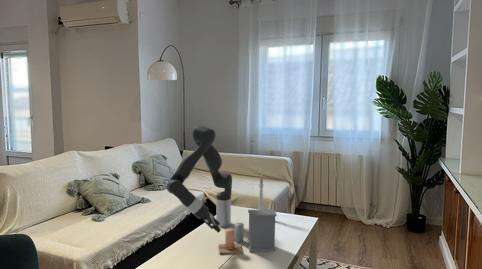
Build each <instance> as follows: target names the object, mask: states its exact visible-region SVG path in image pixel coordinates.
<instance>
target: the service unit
mask: <svg viewBox="0 0 482 269" xmlns="http://www.w3.org/2000/svg"><path fill="white" fill-rule="evenodd" d="M247 212H248V242H247V249H248V251H249V253H263V252H266V253H267V252H276V250H277V249H276V246H275V241H276V240H275V239H276V238H275V237H276V236H275V235H276V230H275V229H276V217H277V213H276V211H275V210H274V208H270V209H268V208H267V209H264V208H263V210H258V209H248V210H247Z"/></svg>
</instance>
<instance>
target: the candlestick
mask: <svg viewBox="0 0 482 269" xmlns="http://www.w3.org/2000/svg"><path fill="white" fill-rule="evenodd" d="M264 185H265V184H264V175H263V174H260V175H259V184H258V187H259V194H258V195H259V196H258V197H259V198H258V208H257V210H263V209H264V194H263V193H264V192H263V189H264Z"/></svg>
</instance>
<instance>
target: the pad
mask: <svg viewBox="0 0 482 269" xmlns="http://www.w3.org/2000/svg"><path fill="white" fill-rule="evenodd" d="M218 252H219V255H220V256H221V255H223V256H224V255H239V254H240V255H241V254H243V248H242V245H241V243H235V248H234V249H233V250H227V249H226V248H225V243H219V244H218Z"/></svg>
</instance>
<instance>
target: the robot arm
mask: <svg viewBox="0 0 482 269" xmlns="http://www.w3.org/2000/svg"><path fill="white" fill-rule="evenodd" d="M192 138H193V141H194V143H195V144H196V145H197V148H196V149H195V150H193V151H192V152H191V153H189V154H188V155H187V156H185V157H184V158H183V159H182V161H181V162H180V164H179V165H178V167H177V169H176V170H175V172H174V174H173V175H172V176H171V177H170V179H169V180H168V182H167V184H166V190H167V192H168V193H170V194H173V195H174V196H175V197H176V198H177V199H178V200H179V202H180V203H181V204H182V205H183V206H184V207H186V209H187V210H188V211H189V212H190V213H192V214H193V215H194V217H196V218H197V219H199V220H200V219H203V222H204V224H206V225H207V226H208V227H209V228H210V229H212V230H214V231H215V232H217V233H220V232H221V231H222V228H227V227H230V226H231V225H232V219H231V218H232V214H231V213H232V189H233V188H232V185H233V177H232V176H233V175H231V174H230V173H223V172H220V171H219V170H220V168H221V167H222V164H223V161H222V158H221V155H220V153H219V151H218V150H217V148H215V147H214V146H213V145H212V144H213V143H214V141H215V139H216V131H215V130H214V129H212V128H209V127H206V126H203V125H197V126H195V127H194V128H193V130H192ZM202 157H203V159H204V161H205V164H206V167H207V168H208V169H209V172H210V176H211V178H212V181H213V184H214V186H215V187H216V188H219V189H224V190H223V191H220V192H218V193H216V196H215V198H216V202H215V203H216V204H215V208H216V214H213V213H212V212H211V211H210V210H209V207H208V206H207V205H206V204H205V203H204V202H202V200H200V199H199V198H197V196H195V195H194V193H192V192H191V191H189V189H188V188H187V186H185V185H184V182H185V181H186V179H188V177H190V174H191V173H192V171H193V169H194V168H195V167H196V164H197V163H198V162H199V160H200V159H201V158H202ZM215 215H216V217H215Z"/></svg>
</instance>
